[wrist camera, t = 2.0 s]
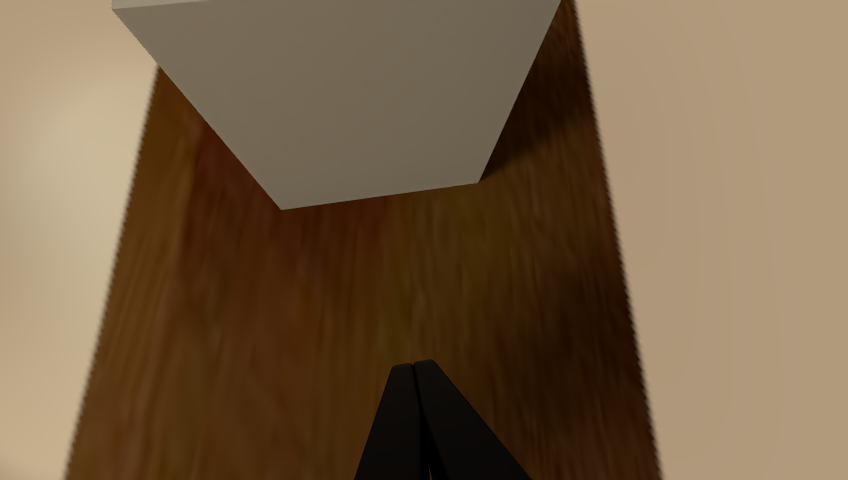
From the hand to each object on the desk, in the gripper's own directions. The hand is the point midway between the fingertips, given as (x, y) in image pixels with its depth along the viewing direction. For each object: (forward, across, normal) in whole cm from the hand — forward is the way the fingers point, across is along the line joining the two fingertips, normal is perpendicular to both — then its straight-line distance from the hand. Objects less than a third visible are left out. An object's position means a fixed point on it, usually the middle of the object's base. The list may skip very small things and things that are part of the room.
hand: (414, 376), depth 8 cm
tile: (+12, 0, 0) cm, 12 cm away
